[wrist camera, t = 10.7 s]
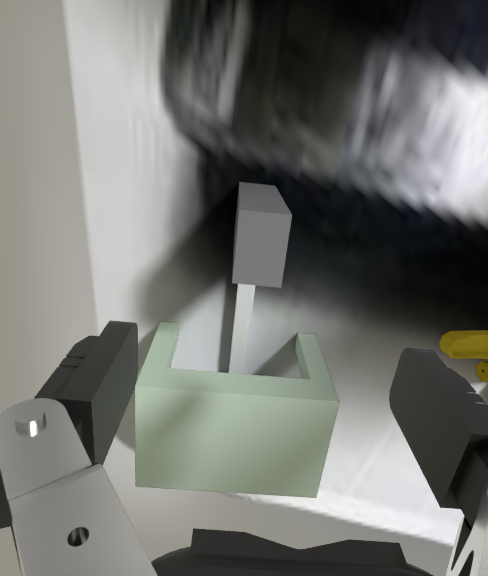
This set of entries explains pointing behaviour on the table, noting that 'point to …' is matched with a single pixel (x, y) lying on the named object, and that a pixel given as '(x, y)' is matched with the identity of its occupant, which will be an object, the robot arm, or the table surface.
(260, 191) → the block
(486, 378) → the sprinkler
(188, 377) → the footstool
